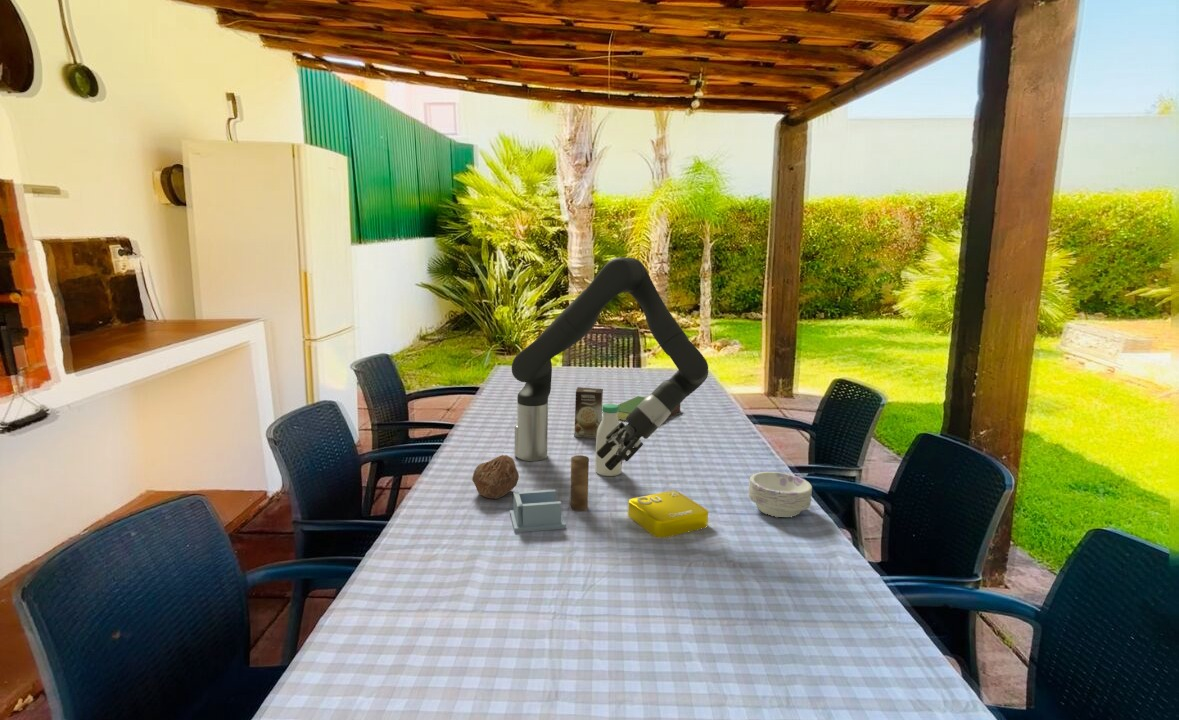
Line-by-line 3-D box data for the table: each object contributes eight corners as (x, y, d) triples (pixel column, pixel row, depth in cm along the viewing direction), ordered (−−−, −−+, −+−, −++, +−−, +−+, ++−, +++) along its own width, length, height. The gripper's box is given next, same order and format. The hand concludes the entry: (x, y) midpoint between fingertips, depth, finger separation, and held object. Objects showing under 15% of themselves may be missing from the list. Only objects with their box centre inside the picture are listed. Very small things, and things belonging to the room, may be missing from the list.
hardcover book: (652, 427, 233) (653, 417, 233) (608, 418, 243) (608, 409, 242) (680, 412, 254) (681, 403, 253) (638, 404, 264) (638, 395, 263)
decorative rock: (503, 481, 178) (503, 446, 176) (529, 493, 171) (529, 457, 169) (463, 493, 169) (463, 457, 167) (488, 507, 161) (488, 469, 160)
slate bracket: (514, 532, 148) (514, 508, 147) (509, 514, 157) (509, 491, 156) (565, 528, 151) (566, 504, 150) (558, 510, 160) (558, 487, 159)
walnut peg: (567, 508, 161) (567, 459, 159) (575, 502, 165) (576, 454, 163) (582, 512, 160) (583, 462, 157) (590, 506, 163) (591, 457, 161)
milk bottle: (619, 478, 183) (621, 410, 179) (592, 475, 184) (594, 408, 180) (623, 468, 190) (626, 403, 186) (597, 466, 191) (599, 401, 188)
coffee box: (573, 437, 218) (574, 391, 215) (575, 431, 224) (576, 386, 221) (600, 438, 217) (601, 392, 214) (602, 433, 223) (603, 388, 220)
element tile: (658, 541, 147) (658, 521, 146) (624, 515, 160) (625, 497, 159) (710, 528, 153) (712, 510, 152) (674, 505, 166) (675, 487, 165)
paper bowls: (809, 503, 168) (812, 475, 167) (809, 528, 154) (812, 497, 152) (750, 495, 173) (752, 467, 171) (744, 517, 159) (746, 487, 157)
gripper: (630, 399, 168) (586, 443, 167) (647, 414, 154) (600, 462, 154) (649, 417, 170) (605, 461, 169) (667, 434, 156) (620, 481, 156)
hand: (603, 461), depth 162 cm, fingers open, 8 cm apart
